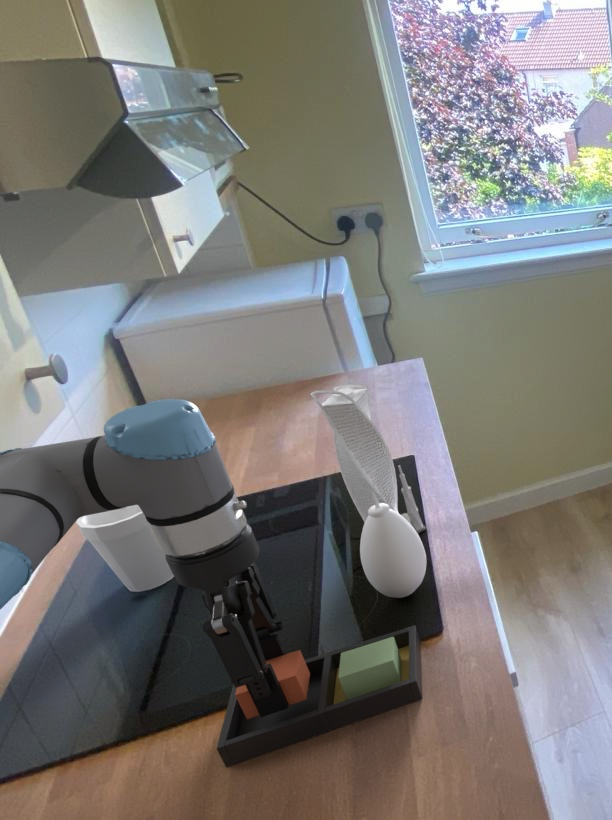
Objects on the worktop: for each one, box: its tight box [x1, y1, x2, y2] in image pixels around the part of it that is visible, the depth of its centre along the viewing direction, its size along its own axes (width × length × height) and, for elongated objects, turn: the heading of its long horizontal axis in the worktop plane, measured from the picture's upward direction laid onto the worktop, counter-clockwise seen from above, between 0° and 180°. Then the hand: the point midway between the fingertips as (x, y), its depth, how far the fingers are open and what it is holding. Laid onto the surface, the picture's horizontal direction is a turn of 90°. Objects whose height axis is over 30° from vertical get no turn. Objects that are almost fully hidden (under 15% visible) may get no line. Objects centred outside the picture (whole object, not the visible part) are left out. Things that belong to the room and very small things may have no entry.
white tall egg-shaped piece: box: [359, 492, 427, 599], centre depth 105 cm, size 8×8×18 cm
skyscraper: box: [310, 384, 427, 535], centre depth 117 cm, size 8×8×28 cm
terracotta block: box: [235, 649, 310, 719], centre depth 88 cm, size 6×4×4 cm
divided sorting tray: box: [215, 625, 423, 768], centre depth 91 cm, size 20×11×3 cm, turn 116°
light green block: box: [338, 637, 401, 700], centre depth 92 cm, size 6×4×4 cm
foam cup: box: [75, 505, 175, 593], centre depth 111 cm, size 10×9×13 cm
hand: (277, 694), depth 88 cm, fingers closed on terracotta block, 4 cm apart
